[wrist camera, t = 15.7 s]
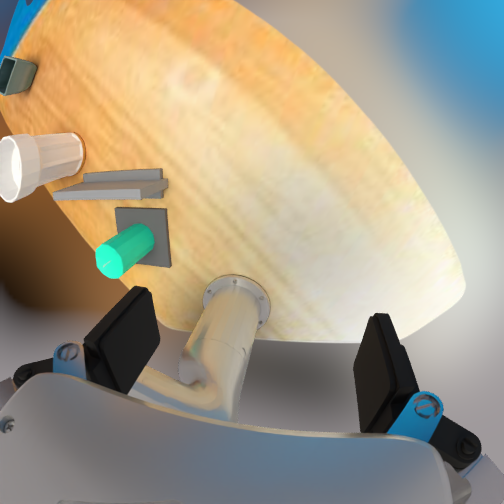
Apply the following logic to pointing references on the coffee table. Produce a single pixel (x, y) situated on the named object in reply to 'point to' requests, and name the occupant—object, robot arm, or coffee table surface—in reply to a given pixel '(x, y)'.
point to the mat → (157, 225)
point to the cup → (37, 161)
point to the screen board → (116, 185)
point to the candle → (124, 250)
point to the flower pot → (15, 75)
